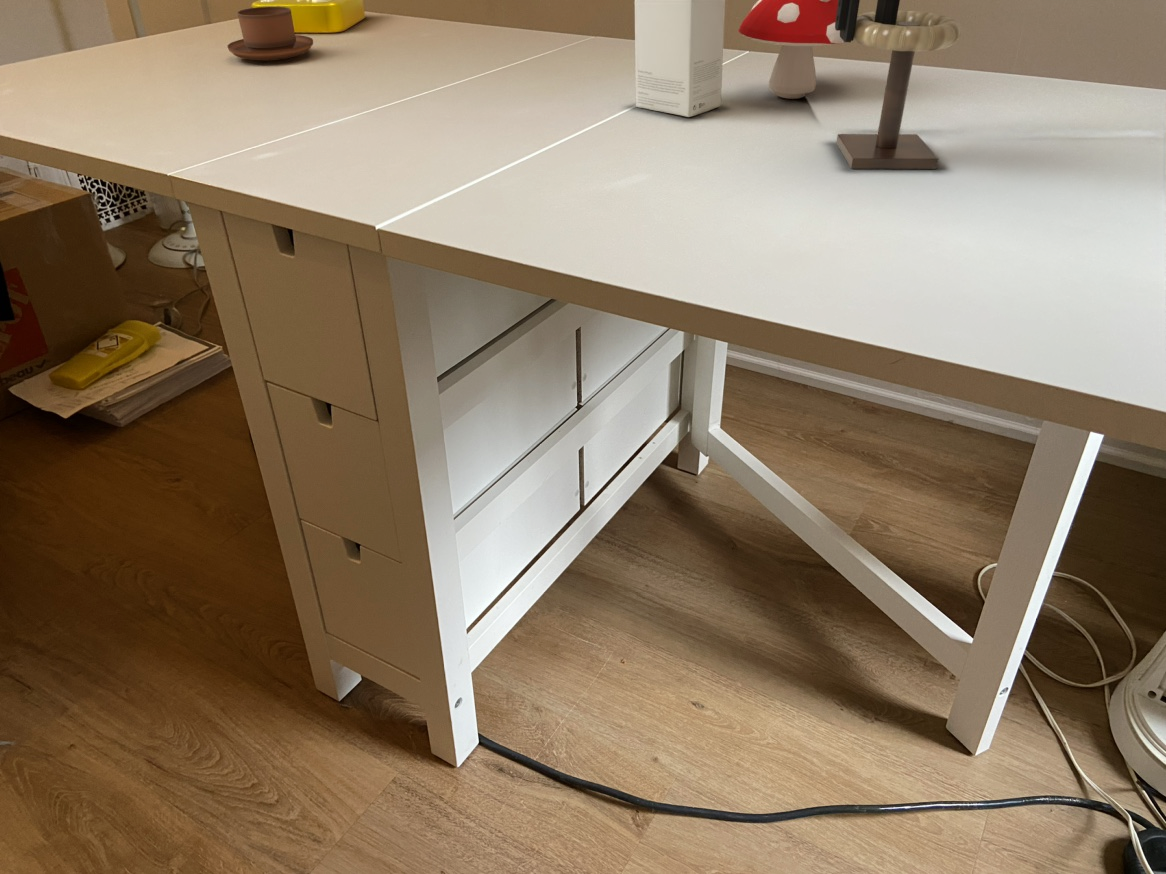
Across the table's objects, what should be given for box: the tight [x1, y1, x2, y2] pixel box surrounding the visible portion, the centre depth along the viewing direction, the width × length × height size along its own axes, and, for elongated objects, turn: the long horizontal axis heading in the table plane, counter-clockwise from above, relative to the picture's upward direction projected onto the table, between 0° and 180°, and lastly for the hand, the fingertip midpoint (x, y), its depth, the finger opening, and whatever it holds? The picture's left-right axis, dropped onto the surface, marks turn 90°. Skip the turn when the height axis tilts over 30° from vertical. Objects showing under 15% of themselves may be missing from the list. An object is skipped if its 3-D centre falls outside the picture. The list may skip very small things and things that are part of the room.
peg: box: [836, 22, 939, 170], centre depth 83 cm, size 8×8×12 cm
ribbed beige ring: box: [853, 10, 963, 52], centre depth 80 cm, size 10×10×2 cm
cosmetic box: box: [634, 0, 726, 118], centre depth 98 cm, size 8×7×16 cm
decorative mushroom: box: [737, 0, 846, 100], centre depth 101 cm, size 14×14×15 cm
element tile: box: [251, 0, 366, 34], centre depth 148 cm, size 15×15×5 cm
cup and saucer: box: [227, 7, 314, 61], centre depth 127 cm, size 12×12×6 cm
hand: (862, 37), depth 81 cm, fingers closed on ribbed beige ring, 2 cm apart
